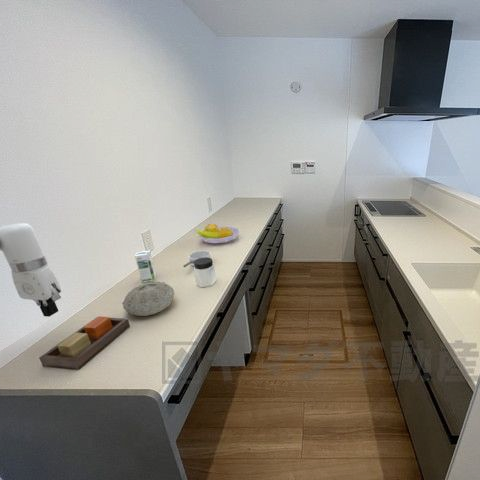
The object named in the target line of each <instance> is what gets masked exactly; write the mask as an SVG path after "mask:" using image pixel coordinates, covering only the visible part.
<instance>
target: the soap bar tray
mask: <svg viewBox="0 0 480 480" xmlns="http://www.w3.org/2000/svg"><path fill="white" fill-rule="evenodd" d="M130 327H131V325H130V322H129V319H128V318H120V317H110V316H100V315H99V316H97V317H95V318H94V319H92V320H91V321H90V322H88V323H86V324H85V325H83V326H82V327H81V328H79V329H78V330H76V331H75V332H74V333H72V334H71V335H69V336H68V337H66V338H65V339H63V340H62V341H61V342H59V343H58V344H56V345H55V346H53V347H52V348H51V349H49V350H48V351H46V352H45V353H43V354H42V355H40V356H39V357H38V359H39V361H40V363H41V366H42V367H44V368H54V369H62V370H63V369H64V370H72V371H73V370H74V371H79V370H81V369H82V368H83V367H84V366H86V364H88V363H89V362H90V361H91V360H92V359H94V358H95V357H96V356H97V355H99V353H101V352H102V351H103V350H105V348H106V347H108V346H110V344H111V343H113V342H114V341H115V340H116V339H118V337H120V336H121V335H122V334H123V333H124V332H125V331H127V330H128V329H129V328H130Z"/></svg>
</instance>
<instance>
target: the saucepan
mask: <svg viewBox="0 0 480 480" xmlns="http://www.w3.org/2000/svg"><path fill="white" fill-rule="evenodd" d="M211 254H212V253H211V252H210V250H209V251H208V250H198V251H193V252H191V253H189V254H188V259H189V261H188V262H187V263H185V264H183V266H182V267H183V268H186V267H189V265H190V266H192V267H194V261H195V260H197V259H199V258H204V257H208V258H211Z"/></svg>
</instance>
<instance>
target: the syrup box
mask: <svg viewBox="0 0 480 480" xmlns="http://www.w3.org/2000/svg"><path fill="white" fill-rule="evenodd" d="M134 258H135V262H136V266H137V268H138V273H139V277H140V282H141V283H142V282H144V283H148V282H147V281H150V282H154V281H153V280H155V281H156V278H157V273H156V269H155V266H154V261H153V256H152V252H151V250H144V251H137V252H136V253H135V255H134ZM155 277H156V278H155Z"/></svg>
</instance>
